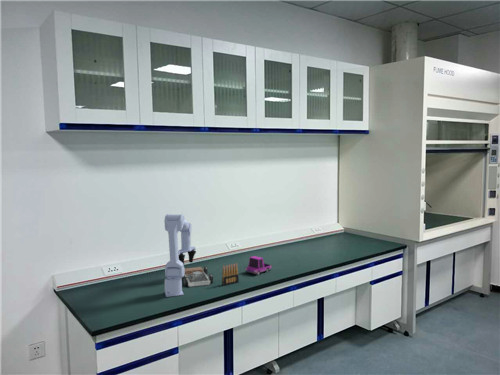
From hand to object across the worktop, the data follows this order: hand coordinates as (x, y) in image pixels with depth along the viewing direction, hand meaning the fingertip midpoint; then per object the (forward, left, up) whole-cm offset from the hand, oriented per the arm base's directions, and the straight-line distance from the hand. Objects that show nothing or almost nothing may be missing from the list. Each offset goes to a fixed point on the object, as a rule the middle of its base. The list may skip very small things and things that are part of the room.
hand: (186, 263), depth 251 cm
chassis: (+5, -4, -9) cm, 11 cm away
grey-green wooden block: (+5, -8, -9) cm, 13 cm away
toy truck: (+46, -1, -10) cm, 47 cm away
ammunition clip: (+23, -18, -10) cm, 31 cm away
